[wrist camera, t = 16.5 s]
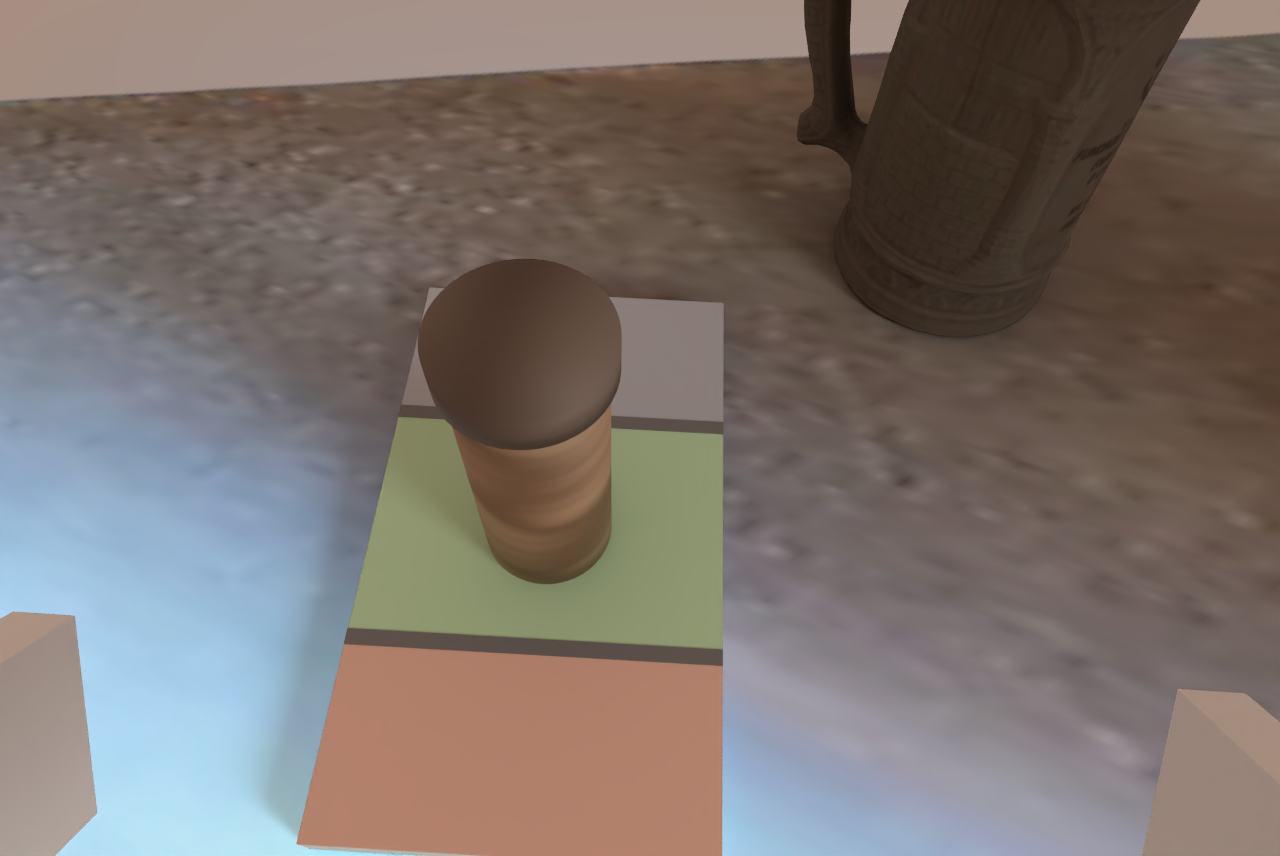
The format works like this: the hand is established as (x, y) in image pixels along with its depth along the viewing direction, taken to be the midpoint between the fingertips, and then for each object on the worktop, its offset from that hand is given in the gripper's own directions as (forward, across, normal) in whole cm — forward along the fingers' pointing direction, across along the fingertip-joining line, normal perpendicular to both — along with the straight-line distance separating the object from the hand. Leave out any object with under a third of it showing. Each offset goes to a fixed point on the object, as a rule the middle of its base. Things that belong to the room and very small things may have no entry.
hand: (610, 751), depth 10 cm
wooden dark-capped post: (+23, -4, -6) cm, 24 cm away
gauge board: (+24, -4, -7) cm, 26 cm away
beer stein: (+38, +12, +6) cm, 40 cm away
